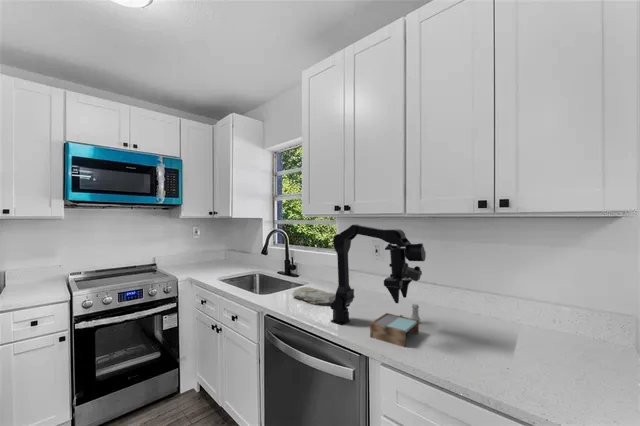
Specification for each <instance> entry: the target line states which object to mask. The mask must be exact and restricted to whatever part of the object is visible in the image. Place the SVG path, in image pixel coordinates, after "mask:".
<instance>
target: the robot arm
mask: <svg viewBox="0 0 640 426" xmlns="http://www.w3.org/2000/svg"><path fill="white" fill-rule="evenodd" d="M357 235H360V236H364V237H365V236H366V237H371V238H376V239H380V240H382V241H384V242H385V243H388V244H387V245H386V247H385V248H384V250H386V251H389V252H390V253H389V255H390V263H389V264H388V265H389V266H388V267H390V268H391V270H390V271H391V273H390V275H389V276H388V277H386V278H385V279H384V280H383V286H384V287H385V288H386V289H387V290H388V292H389V294H390V296H391V298H392V300H393V301H394V303H395V304H399V302H400V293H401V295H402V297H403V298H405V299H406V298H407V297H408V296H407V295H408V290H409V284H411V282H412V281H414V282H418V281H420V280H421V277H422V275H423V274H422V273H423V272H422V269H421V267H420V266H418V265H415V267H410V266H409V263H408V262H425V261H426V258H427V257H426V256H427V255H426V253H427V252H426V250H425V247H424V243H422V242H420V243H411V242H410V240H409V239H408V238H407V237H406V233H405V231H403V230H402V229H400V228H399V229H396V228H395V229H391V228H390V229H389V228H388V229H383V228H377V227H372V226H365V225H360V224H359V223H358V224H352V225H350V226H349V227H348V228H346V229H345V230H343V231H341V232H340V233H337V234H335V235H334V236H333V238H332V242H333V248H334V249H335V252H336V254H337V278H338V279H337V282H338V285H337V288H336V291H335V294H336V296H335V301H333V302H332V303H329V304H330V305H329V306H330V310H332V319H331V320H330V322H331V323H334V324H337V325H340V326H344V325H345V324H347V323H349V322H351V319H350V312H349V307H350V305H351V304H352V303H353V301H354V299H355V293H354V292H355V289H354V288H351V285H350V279H349V278H350V275H349V273H350V272H349V270H350V269H349V252H350V248H351V247H352V246H351V244H352V240H353V239H355V238H356V236H357ZM406 260H407V261H408V262H406Z"/></svg>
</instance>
